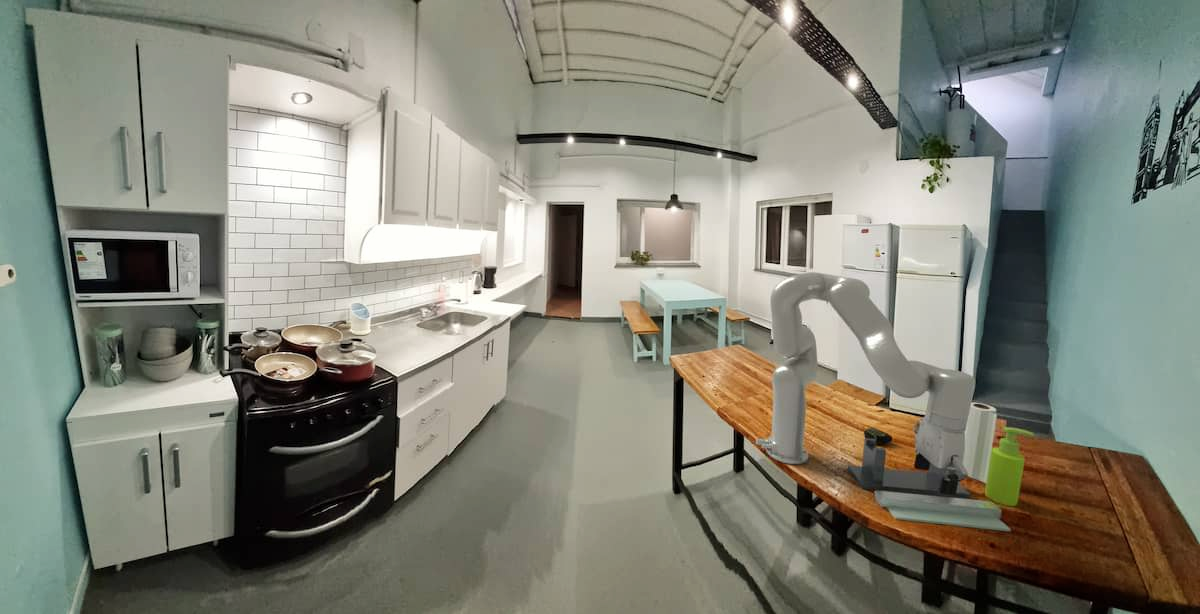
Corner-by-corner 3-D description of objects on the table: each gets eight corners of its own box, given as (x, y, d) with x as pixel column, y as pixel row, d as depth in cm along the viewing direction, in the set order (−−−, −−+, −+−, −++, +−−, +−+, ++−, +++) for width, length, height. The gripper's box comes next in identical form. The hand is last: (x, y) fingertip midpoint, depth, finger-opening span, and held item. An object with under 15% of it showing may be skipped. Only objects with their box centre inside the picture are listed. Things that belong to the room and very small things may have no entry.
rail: (880, 506, 95) (881, 497, 95) (874, 498, 98) (875, 490, 98) (1000, 518, 90) (1001, 509, 90) (990, 510, 93) (991, 501, 93)
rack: (861, 488, 103) (865, 451, 102) (847, 469, 112) (850, 435, 110) (970, 499, 98) (976, 459, 96) (946, 478, 107) (951, 442, 105)
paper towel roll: (957, 465, 113) (966, 399, 110) (985, 473, 109) (996, 405, 105) (956, 475, 108) (966, 407, 105) (986, 484, 104) (997, 413, 100)
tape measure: (892, 444, 125) (894, 434, 125) (878, 448, 123) (879, 438, 123) (872, 435, 132) (873, 425, 131) (858, 438, 130) (859, 428, 129)
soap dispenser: (1027, 510, 94) (1039, 437, 90) (989, 501, 97) (1000, 431, 94) (1017, 496, 98) (1029, 427, 95) (981, 488, 102) (991, 421, 99)
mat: (895, 519, 92) (895, 516, 92) (874, 493, 101) (874, 491, 101) (1010, 531, 87) (1010, 529, 87) (976, 503, 97) (977, 501, 96)
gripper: (906, 402, 100) (897, 459, 103) (953, 436, 83) (939, 502, 86) (938, 405, 98) (927, 462, 101) (992, 439, 81) (977, 507, 85)
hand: (933, 480), depth 94 cm, fingers open, 9 cm apart
